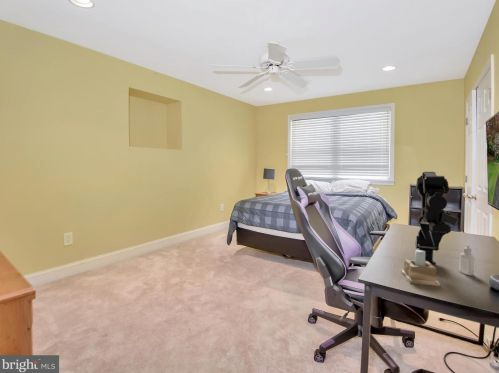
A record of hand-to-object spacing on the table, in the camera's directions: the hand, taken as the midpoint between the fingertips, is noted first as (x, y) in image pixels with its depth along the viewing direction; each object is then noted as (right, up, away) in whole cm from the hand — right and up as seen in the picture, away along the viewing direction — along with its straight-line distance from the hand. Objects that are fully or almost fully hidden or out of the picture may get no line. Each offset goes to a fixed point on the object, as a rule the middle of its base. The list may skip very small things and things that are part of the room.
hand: (431, 243), depth 114 cm
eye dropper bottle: (+15, -13, +1) cm, 20 cm away
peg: (-8, -12, -4) cm, 15 cm away
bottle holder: (-8, -13, -4) cm, 16 cm away
